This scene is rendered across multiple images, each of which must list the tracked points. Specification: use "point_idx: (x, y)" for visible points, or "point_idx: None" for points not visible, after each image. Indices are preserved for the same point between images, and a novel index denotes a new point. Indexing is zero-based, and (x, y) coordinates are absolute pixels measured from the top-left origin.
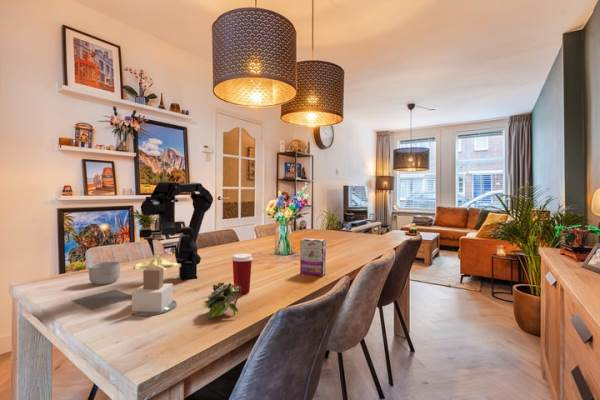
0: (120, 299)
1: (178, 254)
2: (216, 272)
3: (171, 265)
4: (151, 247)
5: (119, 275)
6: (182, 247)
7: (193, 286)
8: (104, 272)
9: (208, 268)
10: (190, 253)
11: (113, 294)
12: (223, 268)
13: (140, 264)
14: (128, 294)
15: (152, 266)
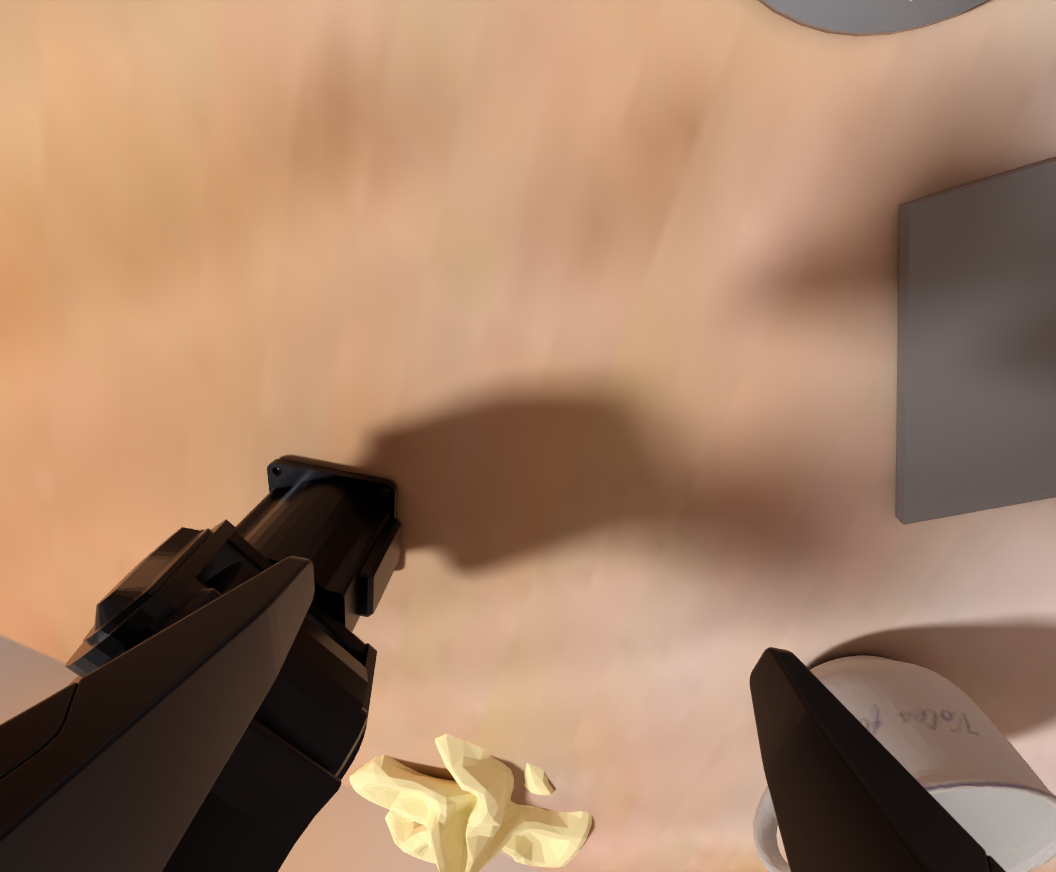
0: (1052, 219)
1: (323, 701)
2: (115, 515)
3: (393, 770)
4: (948, 837)
5: None
6: (212, 792)
7: (342, 254)
8: (970, 737)
9: None
10: (155, 631)
11: (991, 409)
12: (59, 573)
13: (546, 854)
14: (911, 332)
15: (504, 797)
